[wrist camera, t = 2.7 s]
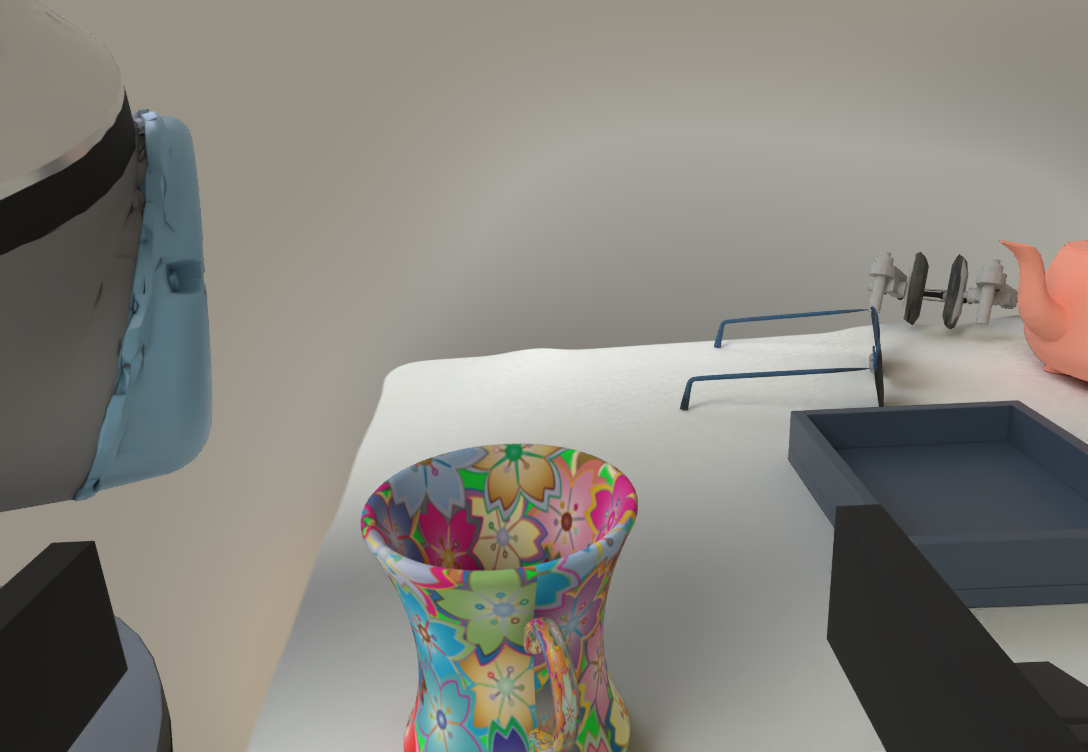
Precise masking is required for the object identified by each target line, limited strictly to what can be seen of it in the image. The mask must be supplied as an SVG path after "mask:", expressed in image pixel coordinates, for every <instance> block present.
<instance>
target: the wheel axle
mask: <svg viewBox="0 0 1088 752" xmlns="http://www.w3.org/2000/svg"><path fill="white" fill-rule="evenodd" d="M890 256H891V253H889V252H880V254H879V256H876V257H875V261H874V263H872V264H871V266H870V272H869V275H870V276H873V277H875V280H874V281H870V282H869V285H868V291H872V296H871V301H870V307H871V306H873V307H874V308H875V309H876V311H877V313H880V308H881V303H882V298H883V294H885V295H886V294H887V293H888V294H890V295H891V296H892V297H897V299H898V300H902V299H903V298H904V303H903V318H904V319H905V320H906V321H907V322H908V323H910V324H911V325H913V324H914V323H915V321H916V320H917V319H918V317H919V315H920V310H921V304H922V300H931V301H940V302H945V306H944V311H943V320H944V324H945V326H946V327H948V328H949V329H952V328H954V327H955V326H956V324H957V321H958V319H959V317H960V315H961V311H962V305H963V303H969V304H972V303H977V302H978V303H979V308H978V313H977V319H976V323H978V324H985V325H988V323H989V318H990V313H991V307H992V305H998V304H999V305H1000V306H1001V308H1006V309H1007V308H1008V309H1013V307H1016V305H1017V304H1016V303H1018V297H1017V295H1018V292H1017V291H1016V290H1015V289H1013V288H1012V287H1010V286H1009V285H1007V284H1006V283H1005V282H1006V277H1007V275H1006V274H1004V273H1002V272H1003V266H1002V265H1000V260H998V259H988V262H987V264H984V265H983V266H982V271H981V272H978V274H977V280H976V284H977V288H969V290H968V292H966V291H965V290H966V284H967V279H968V265H967V261H966V260H965V259H964V257H962V256H961V255H958V256H957V258H956V260H955V261H954V263H953V265H952V269H951V274H950V279H949V284H948V290H941V289H929V288H925V283H926V278H927V273H928V268H929V266H928V262H927V259H926V257H925V256H924V255H923V254H922V253H921V252H919V253H917V254H916V255H915V257H914V260H913V262H912V265H911V267H910V272H909V277H908V282H907V276H906V275H905V274H904V273H902V272H901V271H900V270H899V269H898V268H897V267H895V266H893V258H891V257H890ZM924 290H930V291H941V293H937V292H926V291H924ZM923 296H927V297H937V298H940V299H943V300H939V299H929V298H923ZM945 299H946V300H945ZM870 307H869V309H870ZM871 311H872V310H869V312H871Z"/></svg>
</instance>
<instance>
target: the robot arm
mask: <svg viewBox="0 0 1088 752" xmlns="http://www.w3.org/2000/svg"><path fill="white" fill-rule="evenodd" d="M148 111H149V109H145V110H139V111H138V112H137V113H135V114H131V110H130V106H129V103H128V99H127V95H126V91H125V87H124V84H123V80H122V77H121V73H120V69H119V67H118V66H117V64H116V62H115V60H114V58H113V56H112V55H111V53H110V52H109V50H108V49H107V48H106V46H105V45H104V44H102V43H101V42H100V41H99V40H98V39H96V38H95V37H94V36H92V34H90V33H88V32H87V31H85V30H84V29H82V28H81V27H79V26H77V25H76V24H74V23H72V22H71V21H69V20H68V19H66V18H65V17H63V16H61V15H60V14H58V13H57V12H55V11H54V10H52V9H50V8H49V7H47V6H46V5H44V4H42V3H41V2H39V1H38V0H0V512H4V511H10V510H15V509H21V508H27V507H33V506H38V505H44V504H50V503H55V502H61V501H67V500H75V501H79V500H85V499H88V498H90V497H92V496H94V495H95V494H96V493H97V492H98V491H101V490H105V489H109V488H113V487H117V486H121V485H125V484H129V483H133V482H137V481H141V480H145V479H149V478H153V477H157V476H161V475H166V474H169V473H172V472H174V471H177V470H179V469H181V468H183V467H184V466H185V465H187V464H189V463H190V462H191V461H192V460H194V459H195V458H196V457H197V456H198V454H199V453H200V452H201V451H202V449H203V447H204V446H205V444H206V442H207V440H208V437H209V433H210V429H211V423H212V377H211V376H212V375H211V354H210V335H209V319H208V306H207V295H206V287H205V284H204V277H203V274H204V272H205V269H204V258H203V247H202V243H203V234H202V221H201V209H200V198H199V188H198V179H197V170H196V162H195V154H194V147H193V142H192V137H191V134H190V131H189V129H188V127H187V126H186V125H185V124H184V123H183V122H182V121H180V120H179V119H177V118H174V117H170V116H160V115H159V114H157V113H155V112H154V111H152V112H149V113H148ZM827 640H828V642H829V644H830V646H831V648H832V650H833V651H834V653H835V655H836V657H837V659H838V661H839V663H840V665H841V667H842V668H843V670H844V672H845V674H846V676H847V678H848V680H849V682H850V684H851V685H852V687H853V689H854V691H855V693H856V695H857V697H858V699H859V701H860V703H861V704H862V706H863V708H864V710H865V712H866V714H867V716H868V718H869V720H870V721H871V723H872V725H873V727H874V729H875V731H876V733H877V735H878V737H879V738H880V740H881V742H882V744H883V746H884V748H885V750H886V752H1088V687H1087V686H1086V685H1084V684H1083V683H1081V682H1080V681H1078V680H1076V679H1075V678H1073V677H1072V676H1070V675H1069V674H1067V673H1065V672H1064V671H1062V670H1061V669H1059V668H1058V667H1056V666H1055V665H1053V664H1051V663H1050V662H1048V661H1047V662H1024V663H1013V661H1012V660H1011V659H1010V658H1009V657H1008V655H1007V654H1006V653H1005V652H1004V651H1003V649H1002V648H1001V647H1000V646H999V645H998V644H997V642H996V641H995V640H994V639H993V638H992V636H991V635H990V634H989V633H988V632H987V630H986V629H985V628H984V627H983V626H982V624H981V623H980V622H979V621H978V620H977V619H976V617H975V616H974V615H973V614H972V613H971V611H970V610H969V609H968V608H967V607H966V605H965V604H964V603H963V602H962V601H961V600H960V598H959V597H958V596H957V595H956V594H955V592H954V591H953V590H952V589H951V588H950V586H949V585H948V584H947V583H946V582H945V581H944V579H943V578H942V577H941V576H940V575H939V573H938V572H937V571H936V570H935V569H934V567H933V566H932V565H931V564H930V563H929V561H928V560H927V559H926V558H925V557H924V556H923V554H922V553H921V552H920V551H919V550H918V548H917V547H916V546H915V545H914V544H913V542H912V541H911V540H910V539H909V538H908V537H907V535H906V534H905V533H904V532H903V531H902V529H901V528H900V527H899V526H898V525H897V523H896V522H895V521H894V520H893V519H892V517H891V516H890V515H889V514H888V513H887V512H886V510H885V509H884V508H883V507H882V506H881V504H869V505H848V506H836V515H835V529H834V543H833V558H832V572H831V586H830V601H829V615H828V629H827ZM127 671H128V667H127V663H126V659H125V655H124V651H123V648H122V644H121V640H120V636H119V632H118V629H117V625H116V621H115V617H114V613H113V610H112V606H111V602H110V598H109V594H108V591H107V587H106V583H105V579H104V575H103V572H102V568H101V564H100V560H99V557H98V552H97V549H96V545H95V541H83V542H62V543H61V542H60V543H51V544H50V545H49V546H48V547H47V548H46V549H45V550H43V551H42V552H41V553H40V554H39V555H38V556H37V557H35V558H34V559H33V560H32V561H31V562H30V563H29V564H28V565H26V567H24V568H23V569H22V570H21V571H20V572H19V573H17V574H16V575H15V576H14V577H13V578H12V579H11V580H10V581H9V582H8V583H6V584H5V585H4V586H3V587H2V588H1V589H0V752H68V750H69V749H70V748H71V746H72V745H73V744H74V742H75V741H76V740H77V738H78V737H79V736H80V734H81V733H82V731H83V730H84V729H85V727H86V726H87V725H88V723H89V722H90V721H91V719H92V718H93V717H94V715H95V714H96V713H97V711H98V710H99V708H100V707H101V706H102V704H103V703H104V702H105V700H106V699H107V698H108V696H109V695H110V694H111V692H112V691H113V690H114V688H115V687H116V685H117V684H118V683H119V681H120V680H121V679H122V677H123V676H124V675H125V673H126V672H127Z"/></svg>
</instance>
